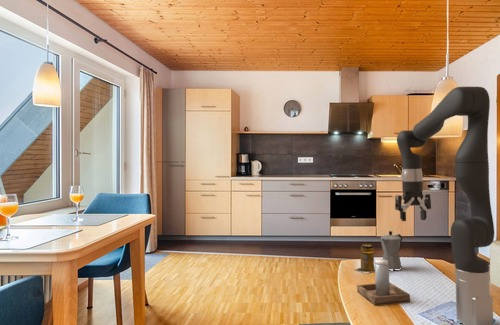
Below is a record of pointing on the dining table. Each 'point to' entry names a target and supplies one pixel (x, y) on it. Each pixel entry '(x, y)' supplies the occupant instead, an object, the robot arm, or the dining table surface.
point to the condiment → (366, 259)
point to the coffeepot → (392, 249)
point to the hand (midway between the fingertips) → (413, 220)
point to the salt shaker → (382, 277)
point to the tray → (394, 297)
